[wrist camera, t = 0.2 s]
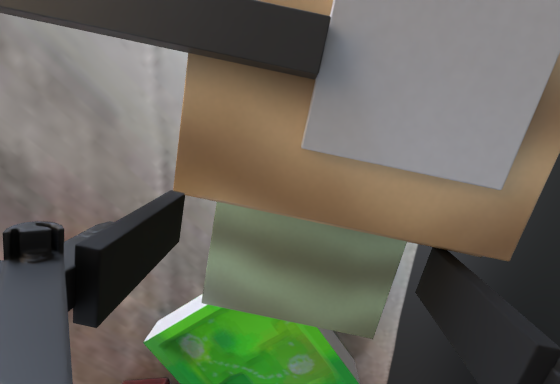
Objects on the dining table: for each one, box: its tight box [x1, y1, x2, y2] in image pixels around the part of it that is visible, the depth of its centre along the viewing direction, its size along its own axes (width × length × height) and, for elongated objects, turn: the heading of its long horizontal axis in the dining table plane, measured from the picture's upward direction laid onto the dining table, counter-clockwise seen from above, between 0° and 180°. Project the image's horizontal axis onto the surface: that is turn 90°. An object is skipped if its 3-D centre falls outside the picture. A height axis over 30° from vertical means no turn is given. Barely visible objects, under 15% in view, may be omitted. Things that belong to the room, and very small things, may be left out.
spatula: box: [0, 0, 560, 190], centre depth 10 cm, size 22×7×1 cm, turn 78°
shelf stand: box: [173, 0, 560, 339], centre depth 27 cm, size 25×15×30 cm, turn 168°
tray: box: [143, 294, 360, 384], centre depth 48 cm, size 25×25×5 cm
